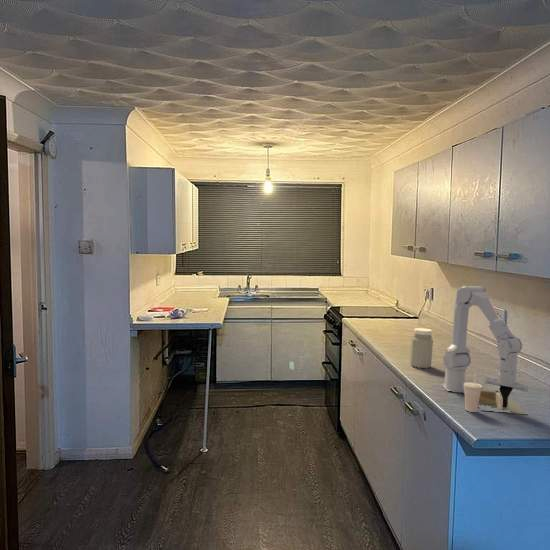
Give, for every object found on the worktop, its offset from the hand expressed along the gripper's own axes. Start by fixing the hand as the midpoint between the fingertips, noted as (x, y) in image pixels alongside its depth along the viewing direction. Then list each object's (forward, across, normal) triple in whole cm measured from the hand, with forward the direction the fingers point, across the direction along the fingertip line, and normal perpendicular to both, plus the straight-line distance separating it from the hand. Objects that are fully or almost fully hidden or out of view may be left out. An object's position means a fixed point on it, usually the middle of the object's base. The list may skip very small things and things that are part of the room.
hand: (504, 406), depth 182 cm
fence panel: (+1, +2, -1) cm, 3 cm away
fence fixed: (+1, +8, -4) cm, 9 cm away
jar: (+1, +45, -38) cm, 59 cm away
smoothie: (+2, +9, +9) cm, 13 cm away
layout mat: (+1, +3, -4) cm, 5 cm away
